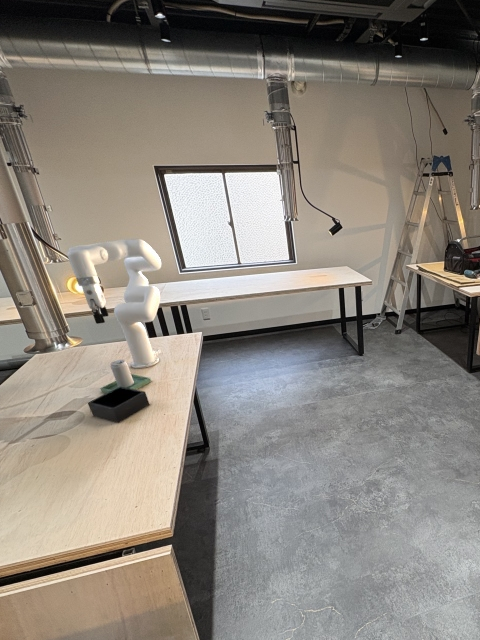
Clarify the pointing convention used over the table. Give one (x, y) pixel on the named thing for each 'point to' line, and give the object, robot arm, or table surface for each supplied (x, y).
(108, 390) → the tray
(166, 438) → the table surface
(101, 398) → the open box
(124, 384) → the beverage can
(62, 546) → the table surface
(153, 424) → the table surface
